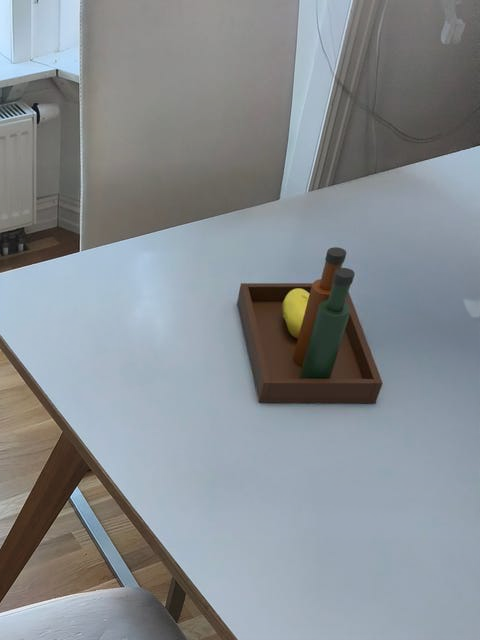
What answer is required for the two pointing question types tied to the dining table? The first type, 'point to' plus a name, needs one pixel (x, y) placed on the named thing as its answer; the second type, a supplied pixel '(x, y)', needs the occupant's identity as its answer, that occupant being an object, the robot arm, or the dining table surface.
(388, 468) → the dining table surface
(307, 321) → the amber bottle
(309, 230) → the dining table surface
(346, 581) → the dining table surface
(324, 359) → the green bottle
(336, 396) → the tray
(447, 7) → the robot arm
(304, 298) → the lemon
